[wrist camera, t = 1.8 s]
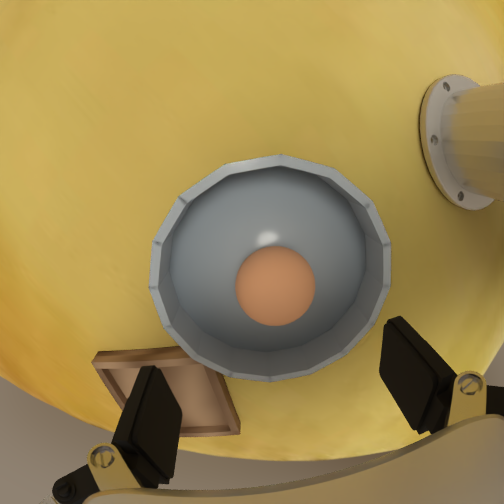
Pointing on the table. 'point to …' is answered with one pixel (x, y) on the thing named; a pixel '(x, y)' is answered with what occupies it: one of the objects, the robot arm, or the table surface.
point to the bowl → (260, 236)
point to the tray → (174, 387)
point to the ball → (275, 286)
